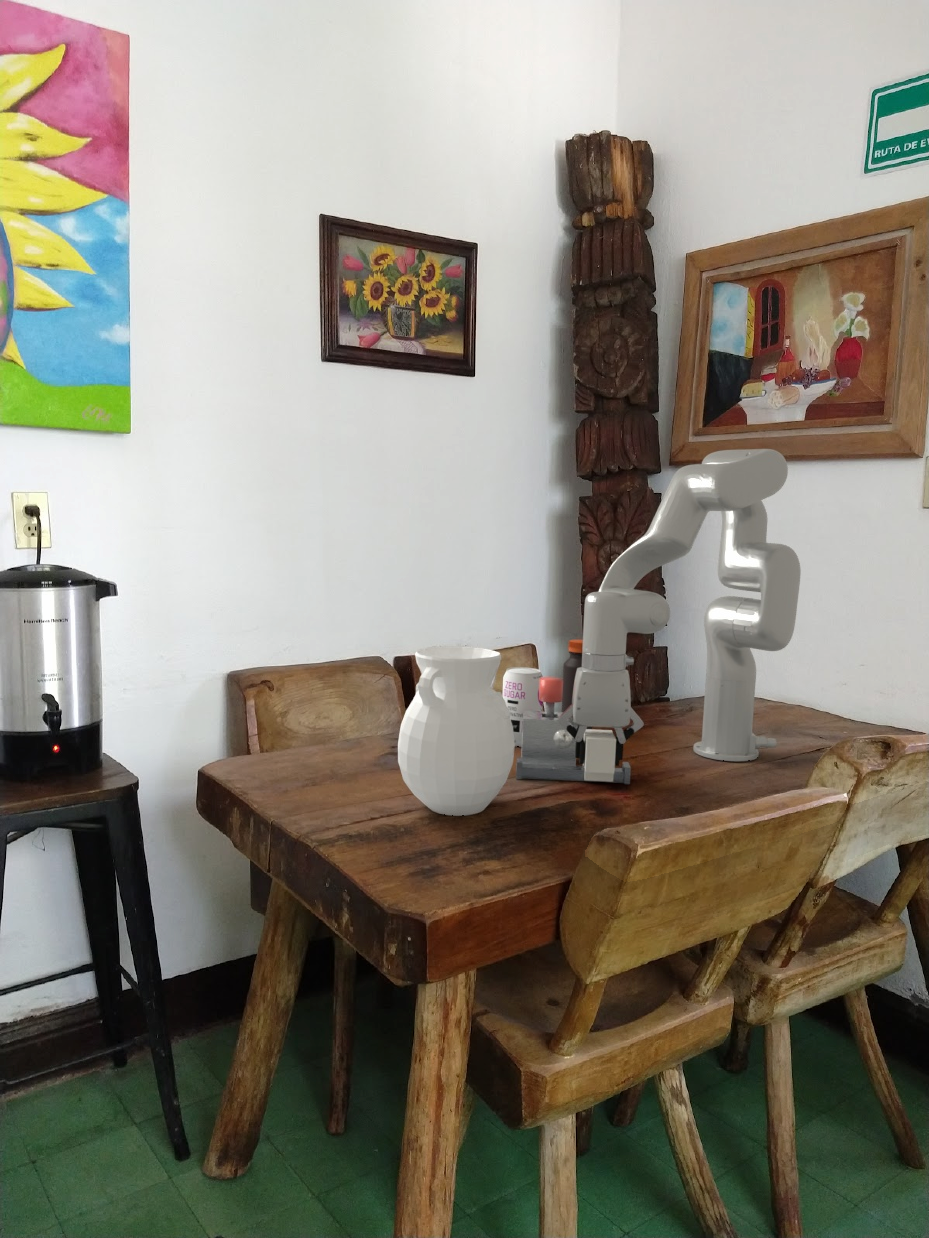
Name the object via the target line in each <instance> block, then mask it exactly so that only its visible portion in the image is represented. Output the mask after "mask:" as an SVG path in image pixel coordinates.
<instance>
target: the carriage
mask: <svg viewBox="0 0 929 1238" xmlns="http://www.w3.org/2000/svg"><path fill="white" fill-rule="evenodd" d="M583 739H584V743H585V747H584V763H583V764H582V766H584V769H585V773H584V780H586V781H585V782H591V781H608V782H607V783H613V775H614V771H615V768H616V765H615V752H616V736H615V734H614V733H613V730H612V729H594V728H592V729H586V731H585V733H584V736H583Z"/></svg>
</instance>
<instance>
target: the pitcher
mask: <svg viewBox="0 0 929 1238" xmlns="http://www.w3.org/2000/svg"><path fill="white" fill-rule="evenodd" d="M414 653H415V654H414V656H415V661H416V665H417V666H418V668H419V671H420V674H421V675H420V677H419V680H418V682H417V684H416V686H415V695H414V697H413V699H412V700H411V702H410V704H409V706H408V707H407V708H406V710H405V713H404V716H403V719H402V721H401V723H400V729H399V735H398V741H397V763H398V765H399V770H400V773H401V775H402V780H403V782H404V783H405V785H406V786H407V787H408V789H409V790H410V791H411V793H412V794H413V795H414V796H415V797H416V798H417V799H418V800H419V801H420V802H422V804H424V805H425V806H426V807H427V808H428V809H429V810H431V811H432V812H434V813H437V814H440V815H444V814H445V815H446V816H452V815H453V816H455V817H460V816H462V815H464V816H471V815H476V814H478V813H481V812H483V811H484V810H485V809H486V808H487V807H488V806H489V805H490V804H491V802H492V801H494V799H495V798H496V797H498V794H499V793H500V791H501V789H502V788H503V787H504V785H505V784H506V782H507V780H508V778H509V774H510V772H511V770H512V767H513V764H514V757H515V756H514V755H515V747H516V746H515V743H514V733H513V726H512V722H511V719H510V716H511V715H510V710H509V709H508V707H507V706H506V703H505V700H504V699H503V693H502V692H501V691H496V690H495V689H494V685H495V683H496V680H497V672H498V670H499V667H500V664H501V661H502V655H501V652H499V651H495V650H493V649H489V648H484V647H474V646H466V645H465V646H463V645H462V646H461V645H455V646H454V645H449V646H448V645H447V646H446V645H443V646H442V645H439V646H437V645H436V646H428V647H423V648H420V649H417V650H416V652H414ZM445 815H444V816H445ZM453 816H452V817H453Z"/></svg>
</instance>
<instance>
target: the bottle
mask: <svg viewBox="0 0 929 1238" xmlns="http://www.w3.org/2000/svg"><path fill="white" fill-rule="evenodd" d="M582 650H583V639H569V640H568V653H569V657H568V658H567V659H566V661H564V663H563V669H562V671H563V672H562V673H563V674H562V679H563V694H562V702H561V711H560V712H564V711H565V710H566V709H567V708H568V707H569V706H570V705H571V704H572V697H573V688H574V681H575V676H576V671H577V668H580V667H582ZM586 729H593V727H588V726H587V728H586Z"/></svg>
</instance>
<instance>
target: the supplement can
mask: <svg viewBox="0 0 929 1238" xmlns="http://www.w3.org/2000/svg"><path fill="white" fill-rule="evenodd" d="M542 677H544V676H543V674H542V672H541V670H540V669H538V668H532V667H521V666H517V667H515V666H514V667H508V668H507V669H506V671H505V673H504V675H503V678H502V696H503V699H504V700H505V703H506V706H507V707H508V709H509V710H510V715H511V716H510V719H511V722H512V726H513V733H514V743H515V747H517V746H519V747H520V748H522V723H523V711H543V702H542V701H540V700H539V681H540V678H542ZM519 747H518V748H519Z"/></svg>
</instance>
